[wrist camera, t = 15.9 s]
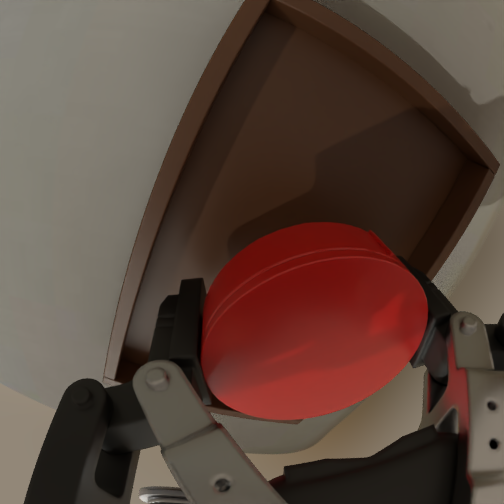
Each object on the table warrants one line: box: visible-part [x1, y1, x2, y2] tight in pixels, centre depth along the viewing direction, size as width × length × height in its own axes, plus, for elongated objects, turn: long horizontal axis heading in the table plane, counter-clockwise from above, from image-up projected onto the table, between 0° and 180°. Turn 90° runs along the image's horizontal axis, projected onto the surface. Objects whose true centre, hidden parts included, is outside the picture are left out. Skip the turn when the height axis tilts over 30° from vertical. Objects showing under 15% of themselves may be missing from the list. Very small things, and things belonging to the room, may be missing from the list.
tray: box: [103, 0, 500, 424], centre depth 11 cm, size 17×11×2 cm, turn 154°
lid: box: [200, 222, 428, 420], centre depth 8 cm, size 6×6×2 cm
